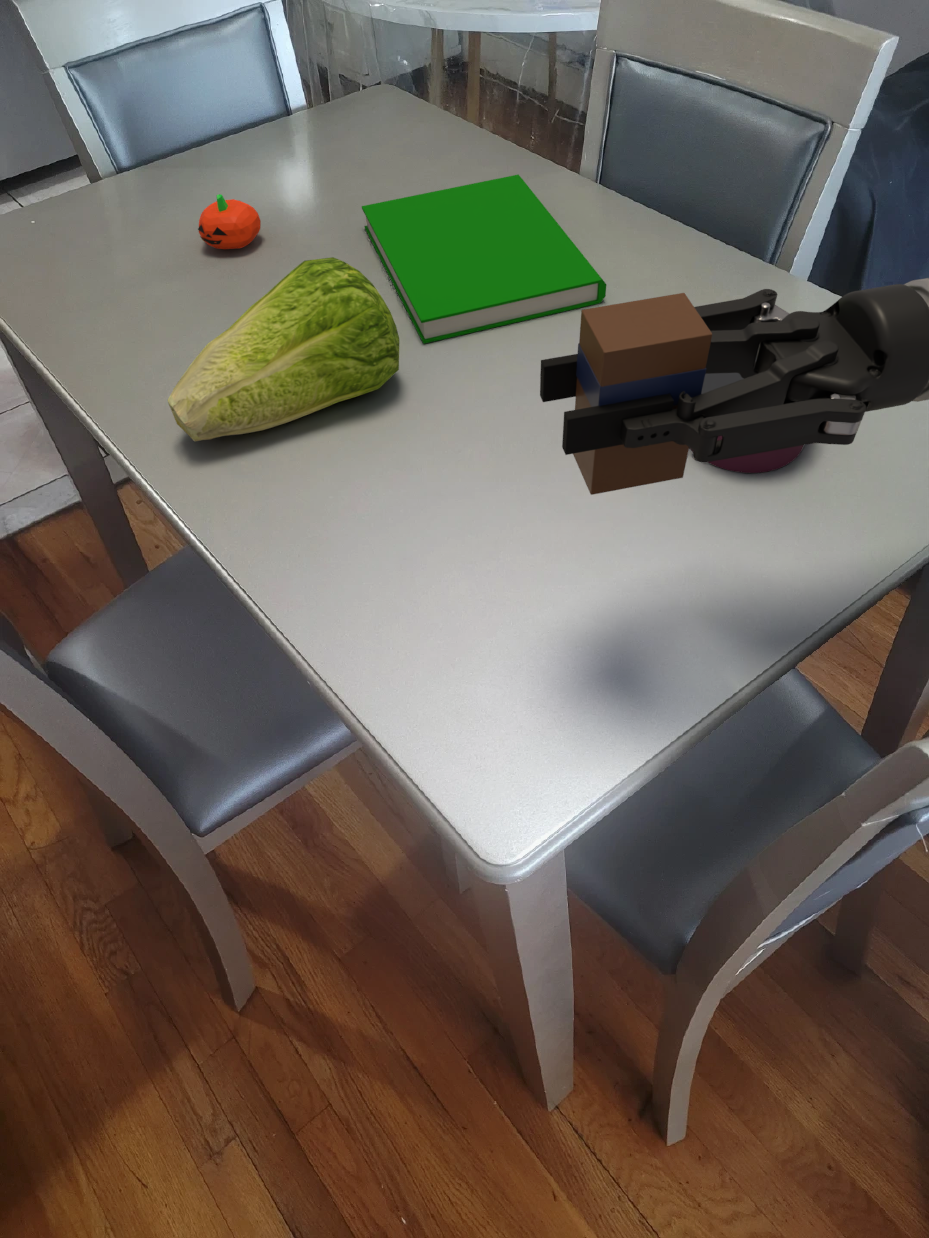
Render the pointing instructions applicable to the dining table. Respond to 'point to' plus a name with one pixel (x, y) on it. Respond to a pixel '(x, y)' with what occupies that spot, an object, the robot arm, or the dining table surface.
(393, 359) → the lettuce
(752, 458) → the lidded tub
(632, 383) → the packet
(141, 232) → the dining table surface
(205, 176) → the dining table surface
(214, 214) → the pumpkin
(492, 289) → the book
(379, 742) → the dining table surface
